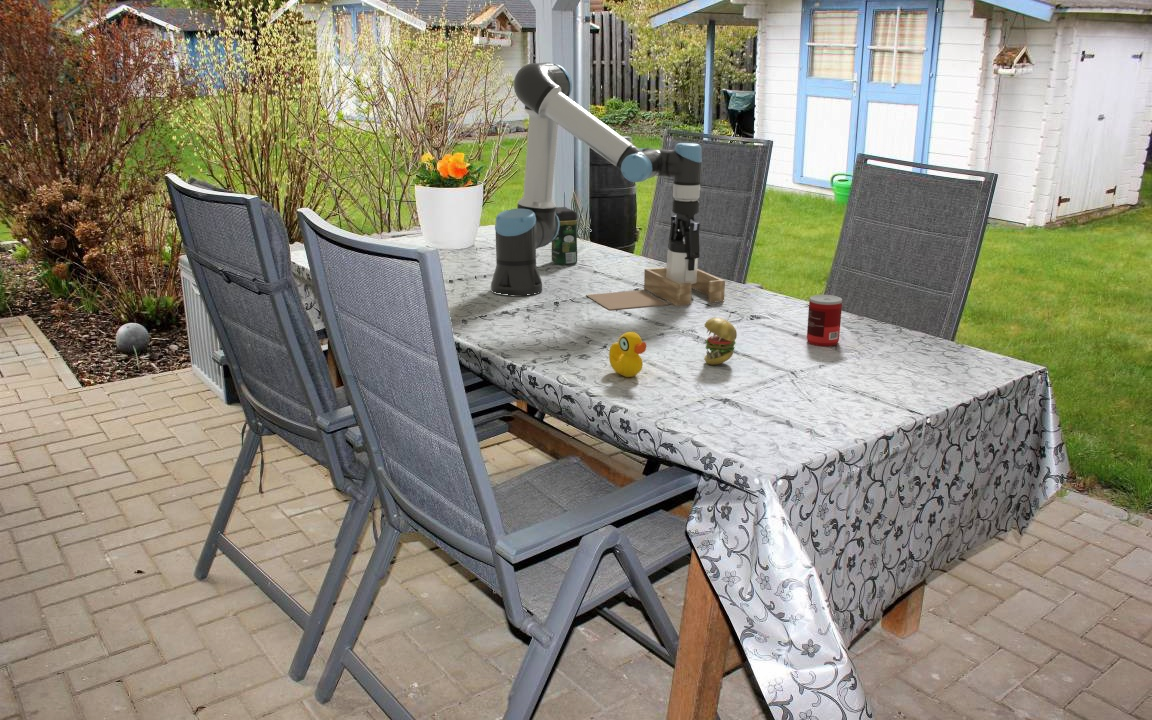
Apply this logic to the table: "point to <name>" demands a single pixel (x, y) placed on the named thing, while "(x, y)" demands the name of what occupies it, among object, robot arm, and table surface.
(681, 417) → the table surface
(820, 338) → the canned food
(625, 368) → the duckling
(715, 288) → the crate
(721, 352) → the hamburger
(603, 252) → the table surface
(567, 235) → the coffee jar
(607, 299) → the mat
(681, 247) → the jar
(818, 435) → the table surface
